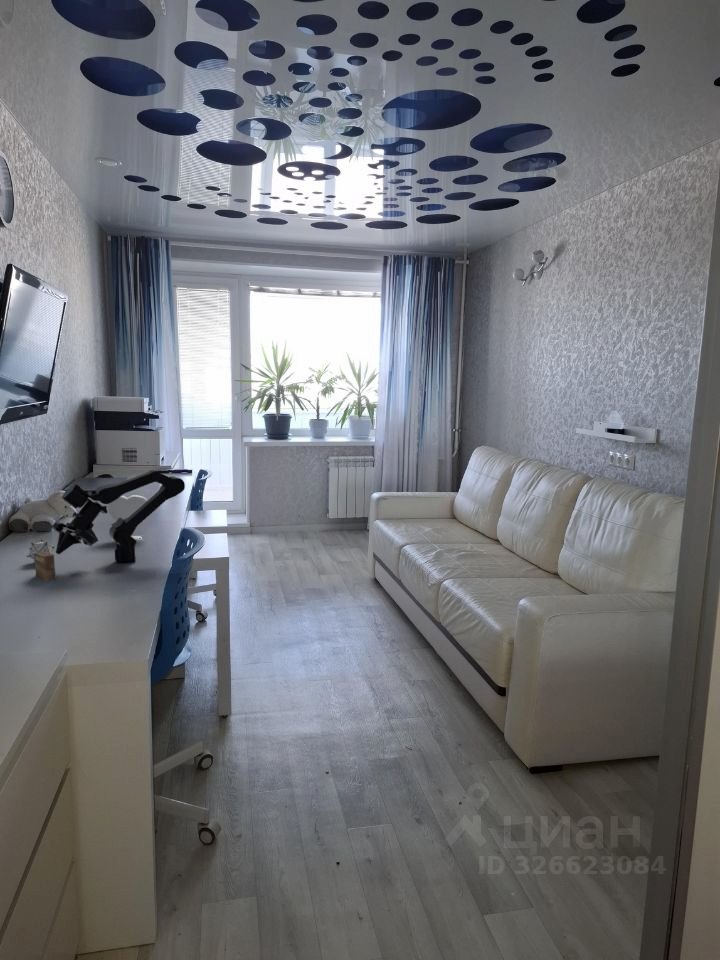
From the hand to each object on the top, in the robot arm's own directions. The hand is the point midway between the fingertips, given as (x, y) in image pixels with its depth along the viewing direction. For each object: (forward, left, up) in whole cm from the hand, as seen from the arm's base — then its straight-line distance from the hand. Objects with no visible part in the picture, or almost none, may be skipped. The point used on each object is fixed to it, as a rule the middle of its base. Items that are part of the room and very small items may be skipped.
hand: (57, 553), depth 218 cm
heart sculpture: (-21, -45, -7) cm, 51 cm away
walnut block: (+4, +3, -7) cm, 9 cm away
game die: (+8, -16, -7) cm, 20 cm away
